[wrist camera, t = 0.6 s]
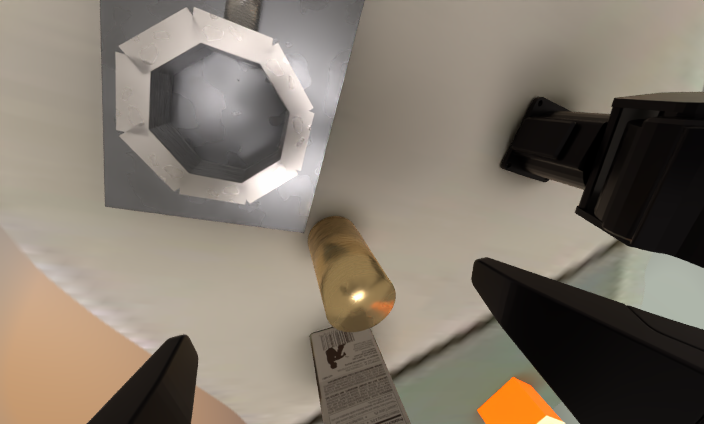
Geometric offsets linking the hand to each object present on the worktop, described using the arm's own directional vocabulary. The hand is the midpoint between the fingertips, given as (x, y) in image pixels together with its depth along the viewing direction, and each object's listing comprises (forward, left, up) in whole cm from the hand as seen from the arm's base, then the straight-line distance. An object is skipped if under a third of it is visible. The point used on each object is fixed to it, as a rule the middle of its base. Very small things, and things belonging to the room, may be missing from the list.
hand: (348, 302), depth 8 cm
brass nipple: (-4, +5, -13) cm, 15 cm away
